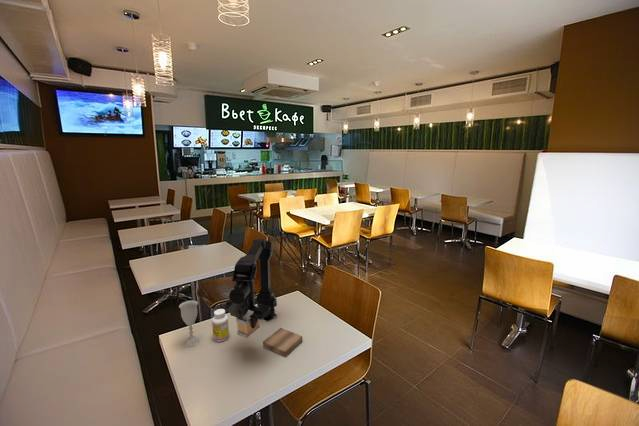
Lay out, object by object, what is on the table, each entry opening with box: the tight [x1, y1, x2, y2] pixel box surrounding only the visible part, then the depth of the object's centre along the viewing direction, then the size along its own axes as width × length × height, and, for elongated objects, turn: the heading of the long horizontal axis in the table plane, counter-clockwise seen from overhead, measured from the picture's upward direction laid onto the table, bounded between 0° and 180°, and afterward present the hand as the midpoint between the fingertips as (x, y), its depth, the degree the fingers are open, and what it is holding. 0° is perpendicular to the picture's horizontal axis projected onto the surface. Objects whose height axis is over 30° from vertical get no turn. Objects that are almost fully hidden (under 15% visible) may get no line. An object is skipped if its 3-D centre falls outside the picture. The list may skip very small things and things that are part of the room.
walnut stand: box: [262, 327, 303, 358], centre depth 127 cm, size 12×12×2 cm
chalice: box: [178, 300, 199, 347], centre depth 126 cm, size 7×7×18 cm
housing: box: [235, 311, 261, 339], centre depth 119 cm, size 5×8×7 cm, turn 152°
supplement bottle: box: [211, 308, 230, 343], centre depth 130 cm, size 7×7×13 cm
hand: (248, 326), depth 119 cm, fingers closed on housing, 5 cm apart
